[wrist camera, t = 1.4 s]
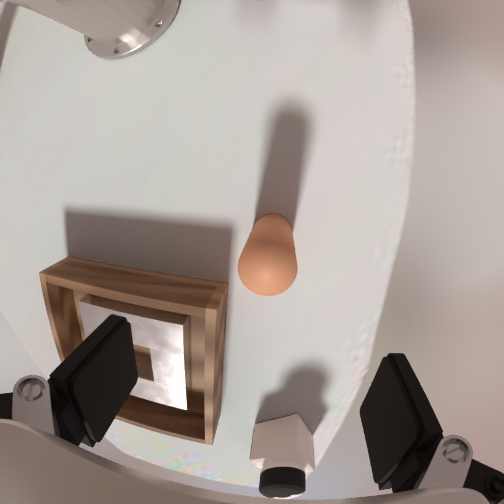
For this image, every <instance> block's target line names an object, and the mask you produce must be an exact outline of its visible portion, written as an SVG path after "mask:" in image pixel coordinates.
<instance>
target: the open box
mask: <svg viewBox="0 0 504 504" xmlns="http://www.w3.org/2000/svg"><path fill="white" fill-rule="evenodd" d="M39 275H40V281H41V286H42V291H43V296H44V301H45V306H46V310H47V314H48V318H49V322H50V326H51V330H52V334H53V337H54V341H55V344H56V347H57V351H58V354H59V357H60V360H61V363H62V362H63V361H64V360H65V359H66V358H67V357H68V356H69V355H70V354H71V353H72V352H73V351H74V350H75V349H76V348H77V347H78V346H79V345H80V344H81V343H82V342H83V341H84V340H85V339H86V337H85V332H84V328H83V323H82V318H81V313H80V307H79V302H78V301H79V300H80V299H82V298H83V297H84V296H86V295H87V294H88V293H89V294H93V295H97V296H101V297H105V298H109V299H113V300H118V301H122V302H127V303H131V304H136V305H140V306H145V307H150V308H155V309H160V310H165V311H170V312H176V313H181V314H187V315H190V372H191V396H192V398H191V400H190V403H189V406H188V408H187V410H185V409H181V408H177V407H172V406H168V405H165V404H161V403H157V402H153V401H150V400H146V399H143V398H139V397H136V396H133V395H130V394H129V396H128V398H127V399H126V401H125V402H124V404H123V406H122V407H121V409H120V410H119V412H118V414H117V415H116V417H115V419H118V420H121V421H124V422H127V423H129V424H132V425H135V426H139V427H142V428H145V429H148V430H152V431H155V432H158V433H162V434H166V435H169V436H173V437H177V438H181V439H185V440H190V441H194V442H199V443H204V444H209V445H213V441H214V437H215V433H216V429H217V425H218V421H219V417H220V407H221V388H222V370H223V353H224V337H225V322H226V307H227V293H228V283H221V282H214V281H207V280H201V279H194V278H187V277H181V276H174V275H168V274H162V273H155V272H149V271H143V270H137V269H132V268H126V267H120V266H114V265H109V264H103V263H98V262H92V261H87V260H82V259H76V258H71V257H67V258H65V259H63V260H61V261H59V262H57V263H56V264H54V265H52V266H50V267H48V268H46V269H45V270H43V271H41V272H39ZM133 345H134V352H135V359H136V364H139V365H143V366H147V367H150V368H152V361H151V353H150V348H147V347H143V346H139V345H135V344H133Z"/></svg>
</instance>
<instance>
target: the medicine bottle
mask: <svg viewBox="0 0 504 504" xmlns="http://www.w3.org/2000/svg"><path fill="white" fill-rule="evenodd" d="M250 461H251V462H252V463H254V464H255V465H256V466H257V467H258V468H259V469H260V470H261V474H260V483H259V491H260V493H261V494H262V495H264V496H266V497H269V498H275V499H290V498H294V497H297V496H299V495H301V494H302V493H303V492H304V491H305V473H307V472H312V471H314V470H315V461H314V443H313V436H312V434H311V433H310V431H309V429H308V428H307V426H306V425H305V423H304V422H303V420H302V419H301V417H300V416H299V414H293V415H290V416H286V417H282V418H278V419H274V420H270V421H266V422H261V423H257V424H255V425H254V429H253V437H252V445H251V452H250Z"/></svg>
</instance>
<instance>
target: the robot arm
mask: <svg viewBox="0 0 504 504" xmlns="http://www.w3.org/2000/svg"><path fill="white" fill-rule="evenodd" d="M5 1H8V2H11V3H14V4H16V5H19V6H22V7H24V8H27V9H29V10H32V11H34V12H37V13H39V14H41V15H44V16H46V17H48V18H51V19H53V20H55V21H57V22H59V23H62V24H64V25H66V26H68V27H70V28H72V29H74V30H76V31H78V32H80V33H82V34H84V39H85V43H86V46H87V48H88V49H89V51H91V52H92V53H93V54H94V55H96V56H98V57H101V58H104V59H120V58H124V57H127V56H130V55H133V54H135V53H137V52H139V51H141V50H142V49H144V48H146V47H147V46H149V45H150V44H151V43H152V42H154V41H155V40H156V39H157V38H158V37H159V36H160V35H161V34H162V33H163V32H164V31H165V30H166V29H167V28H168V26H169V25H170V24H171V22H172V21H173V19H174V17H175V15H176V13H177V10H178V7H179V0H5ZM49 376H50V378H49V379H48V381H46V380H45V379H44V378H43V377H41V376H37V375H29V376H25V377H23V378H21V379H20V380H19V381H17V383H16V384H15V386H14V389H13V392H12V393H4V394H0V504H504V474H503V473H501V472H500V471H498V470H495V469H493V468H491V467H488V466H486V465H484V464H482V463H480V462H478V461H476V460H474V459H472V455H473V451H472V447H471V445H470V444H469V443H468V441H466V439H464V438H462V437H461V436H457V435H449V436H446V437H443V434H442V432H443V430H442V428H441V426H440V424H439V422H438V419H437V417H436V415H435V413H434V411H433V409H432V407H431V405H430V403H429V400H428V398H427V396H426V394H425V392H424V391H423V388H422V387H421V385H420V383H419V381H418V379H417V377H416V375H415V373H414V371H413V369H412V367H411V365H410V364H409V362H408V360H407V358H406V356H405V355H404V354H403V353H389V354H388V355H387V357H384V358H383V359H382V361H381V363H380V366H379V368H378V370H377V373H376V375H375V377H374V379H373V382H372V384H371V386H370V388H369V390H368V393H367V395H366V397H365V399H364V401H363V403H362V405H361V408H360V417H361V421H362V426H363V430H364V434H365V439H366V443H367V448H368V453H369V458H370V463H371V468H372V473H373V478H374V482H375V483H378V485H379V490H384V489H390V488H392V491H393V493H391V494H385V495H377V496H368V497H358V498H346V499H325V500H294V499H275V498H262V497H252V496H244V495H236V494H230V493H223V492H218V491H212V490H207V489H202V488H197V487H193V486H188V485H184V484H180V483H177V482H173V481H169V480H165V479H162V478H159V477H155V476H152V475H149V474H145V473H143V472H140V471H136V470H134V469H131V468H128V467H126V466H123V465H120V464H118V463H115V462H113V461H110V460H108V459H106V458H103V457H101V456H98V455H96V454H94V453H91V452H89V451H87V450H85V449H83V448H80V447H78V446H79V444H80V443H81V442H82V443H84V444H86V445H88V446H90V447H93V446H94V445H95V443H96V442H100V441H101V440H102V438H103V437H104V435H105V433H106V432H107V430H108V428H109V427H110V425H111V424H112V422H113V420H114V419H115V417H116V415H117V414H118V412H119V410H120V409H121V407H122V406H123V404H124V402H125V401H126V399H127V398H128V396H129V394H130V393H131V391H132V390H133V388H134V386H135V385H136V383H137V380H138V371H137V365H136V359H135V352H134V345H133V338H132V330H131V324H130V322H128V321H127V319H126V318H125V317H123V316H119V315H115V314H111V315H109V316H108V317H107V318H106V319H105V320H104V321H103V322H102V323H101V324H100V325H99V326H98V327H97V328H96V329H95V330H94V331H93V332H92V333H91V334H90V335H89V336H88V337H87V338H86V339H85V340H84V341H83V342H82V343H81V344H80V345H79V346H78V347H77V348H76V349H75V350H74V351H73V352H72V353H71V354H70V355H69V356H68V357H67V358H66V359H65V360H64V361H63V362H62V363H61V364H60V365H59V366H58V367H57V368H56V369H55V370H54V371H53V372H52V373H51V374H50V375H49Z"/></svg>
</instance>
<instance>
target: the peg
mask: <svg viewBox="0 0 504 504" xmlns="http://www.w3.org/2000/svg"><path fill="white" fill-rule="evenodd" d="M238 273H239V277H240V279H241V281H242V283H243V284H244V285H245V286H246V287H247V288H248V289H249V290H251V291H252V292H254V293H256V294H259V295H264V296H272V295H277V294H280V293H282V292H284V291H285V290H287V289H288V288H289V287H290V286H291V285H292V283H293V282H294V280H295V278H296V275H297V260H296V254H295V247H294V241H293V234H292V229H291V226H290V224H289V222H288V221H287V220H286V219H285V218H283V217H282V216H280V215H276V214H268V215H264V216H262V217H261V218H259V219H258V220H257V221H256V223H255V224H254V226H253V229H252V231H251V233H250V235H249V238H248V240H247V242H246V244H245V247H244V249H243V251H242V253H241V256H240V258H239V261H238Z"/></svg>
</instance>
